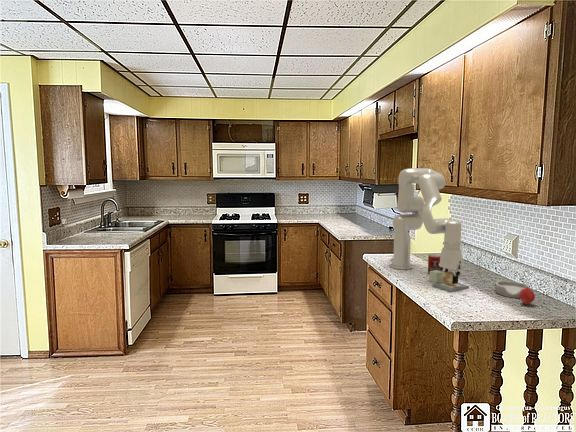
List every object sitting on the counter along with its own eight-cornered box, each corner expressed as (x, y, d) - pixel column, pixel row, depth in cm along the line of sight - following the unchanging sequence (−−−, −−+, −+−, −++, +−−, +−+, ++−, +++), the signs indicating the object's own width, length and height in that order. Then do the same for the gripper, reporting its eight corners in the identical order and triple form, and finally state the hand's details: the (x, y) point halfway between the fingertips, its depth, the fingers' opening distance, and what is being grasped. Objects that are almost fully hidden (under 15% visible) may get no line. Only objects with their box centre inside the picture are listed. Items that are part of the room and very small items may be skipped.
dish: (534, 300, 178) (535, 289, 177) (501, 298, 180) (501, 287, 180) (521, 290, 192) (521, 280, 191) (490, 288, 194) (491, 278, 194)
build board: (432, 286, 198) (432, 283, 198) (450, 282, 204) (450, 280, 204) (450, 292, 189) (450, 289, 188) (468, 288, 195) (468, 285, 194)
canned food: (427, 274, 219) (427, 255, 218) (428, 271, 227) (429, 252, 225) (441, 276, 216) (442, 256, 215) (443, 272, 223) (443, 253, 222)
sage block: (429, 280, 209) (429, 271, 208) (436, 279, 211) (436, 270, 211) (436, 282, 205) (437, 273, 204) (443, 281, 207) (443, 272, 206)
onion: (516, 301, 175) (517, 284, 174) (529, 302, 174) (531, 284, 173) (522, 306, 169) (523, 288, 168) (536, 306, 169) (538, 288, 168)
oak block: (442, 282, 197) (443, 272, 197) (449, 280, 200) (450, 271, 199) (450, 284, 193) (451, 274, 192) (458, 283, 195) (458, 273, 195)
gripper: (433, 243, 200) (431, 278, 202) (461, 249, 185) (459, 287, 187) (443, 242, 203) (442, 276, 205) (472, 248, 188) (470, 285, 190)
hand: (450, 281), depth 196 cm, fingers closed on oak block, 4 cm apart
